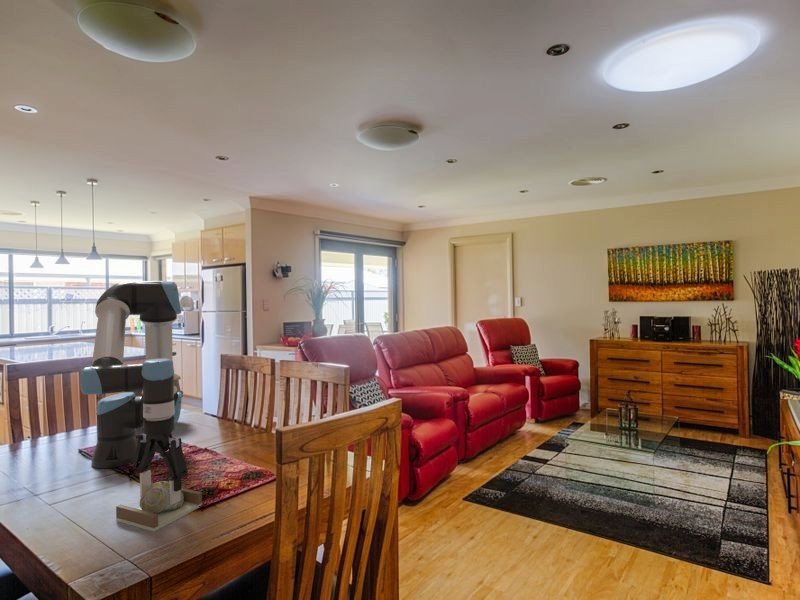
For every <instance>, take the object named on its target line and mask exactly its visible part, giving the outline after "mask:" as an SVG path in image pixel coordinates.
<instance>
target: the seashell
mask: <svg viewBox="0 0 800 600" xmlns="http://www.w3.org/2000/svg"><path fill="white" fill-rule="evenodd" d="M180 491H181V490H180ZM183 504H184V495H183V493H182V491H181V501H179V502H177V503H175V504H173V505H171V504H170V481H168V480H160V481H158V482H154V483H151V485H150V486H149V487H147V488H146V489H145V491H144V492H143V494H142V496H141V497H140V499H139V507H141V509H142V510H144V511H147V512H151V513H155V514H158V513H160V512H161V511H163V510H170V509H176V508H180V507H182V506H183Z"/></svg>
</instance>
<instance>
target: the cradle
mask: <svg viewBox="0 0 800 600" xmlns="http://www.w3.org/2000/svg"><path fill="white" fill-rule="evenodd" d="M181 491H182V493H183V495H184V504H183V506H182V507H180V508H176V509H170V510H163V511H161V512H160V513H158V514H155V513H151V512H147V511H144V510H142V509H141V507H140V506H139V507H137V508H136V507H131V506H129V505H128V506H127V505H124V504H118V505H116V506H115V516H116V517H115V519H116V520H115V521H116V522H119V523H123V524H126V525H130V526H133V527H137V528H141V529H144V530H147V531H151V532H156V531H158V530H159V529H162V528H163V527H165V526H167V525H169V524H170V523H173V522H175V521H177V520H179V519H180V518H182V517H184V516H186V515H187V514H190V513H191V512H193V511H196V510H197V509H199V508H200V507H199V506H201V505H202V506H203V503H202V502H203V497H202V496H203V494H202V491H196V490H193V489H188V488H183V487H182V488H181ZM202 506H201V507H202Z"/></svg>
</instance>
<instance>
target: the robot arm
mask: <svg viewBox="0 0 800 600" xmlns="http://www.w3.org/2000/svg"><path fill="white" fill-rule="evenodd" d="M178 289H179V288H178V285H177V283H176V282H175V281H171V280H169V281H167V280H124V281H121V282H119V283H115V284H114V285H112V286H110V287H109V288H108V289H106V290H104V292H103V293H102V294H101V296H100V297H99V298H98V300H97V302H96V304H95V310H94V314H95V316H96V318H97V324H96V329H95V331H96V332H95V338H94V343H93V345H94V346H93V354H92V362H91V366H90V365H89V366H86V367H83V368H82V369H81V370H80V376H79V377H80V379H79V381H80V382H79V385H80V391H81V393H82V394H83V395H87V396H88V395H89V396H90V395H93V396H94V395H104V394H105V395H106V394H111V395H108V396H106V397H103V398H101V399H100V400H98V401H97V404H96V413H95V415H96V435H97V436H96V438H97V440H96V444H95V447H94V450H93V454H92V456H91V466H92V467H93V468H96V469H112V468H119V467H123V466H122V465H124V466H126V464H127V465H130V464H129V463H131V464H132V468H133V469H134V470H137V473H138V475H139V476H138V479H139V481H138V483H139V491H140V492H139V494H140V495H139V496H140V498H141V496H142V494H143V492H144V491H145V489H146V488H147V487H149V486H150V485H152V473H151V471H152V470H151V464H152V461H153V459H154V457H155V455H156V453H158V454H159V456H160V457H162V458H163V460H164V463H165V465H166V468H167V470H168V472H169V474H170V477H171V478H170V479H169V482H170V504H171V505H173V504H175V503H177V502H179V501H181V491H180V490H181V488H183V487H182V485H183V484H182V478H184V477H186V476H188V474H189V473H188V468H187V464H186V460H185V456H184V452H183V447H182V438H180V437H179V438H174V437H173V434H172V433H173V431H174V430H175V426H176V425H175V424H176V423H178V421H179V419H180V416H181V410H182V399H183V397H182V395H183V394H181V392H177V387H175V386H174V374H175V367H174V362H173V361H174V360H173V323H174V322H175V321H176V320H177V319H178V317H177V315H180V314H181V313H182V309H181V308H182V307H181V302H180V296H179V295H180V294H179V290H178ZM130 316H139V321H140V322H141V323H142V324H144V341H145V342H144V345H145V346H144V347H145V348H144V349H145V351H144V352H145V360H144V361H143V362H142V363H141V362H140V363H131V364H130V363H129V364H124V356H125V355H124V353H125V339H126V324H127V322H126V321H127V319H128V318H129V317H130ZM138 390H142V396H135V393H134V392H126V391H138ZM124 392H125V393H124ZM139 429H140V430H141V429H142V431H143V433H142V434H138V435H137V437H136V430H139ZM132 462H133V463H132ZM118 466H119V467H118Z"/></svg>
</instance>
